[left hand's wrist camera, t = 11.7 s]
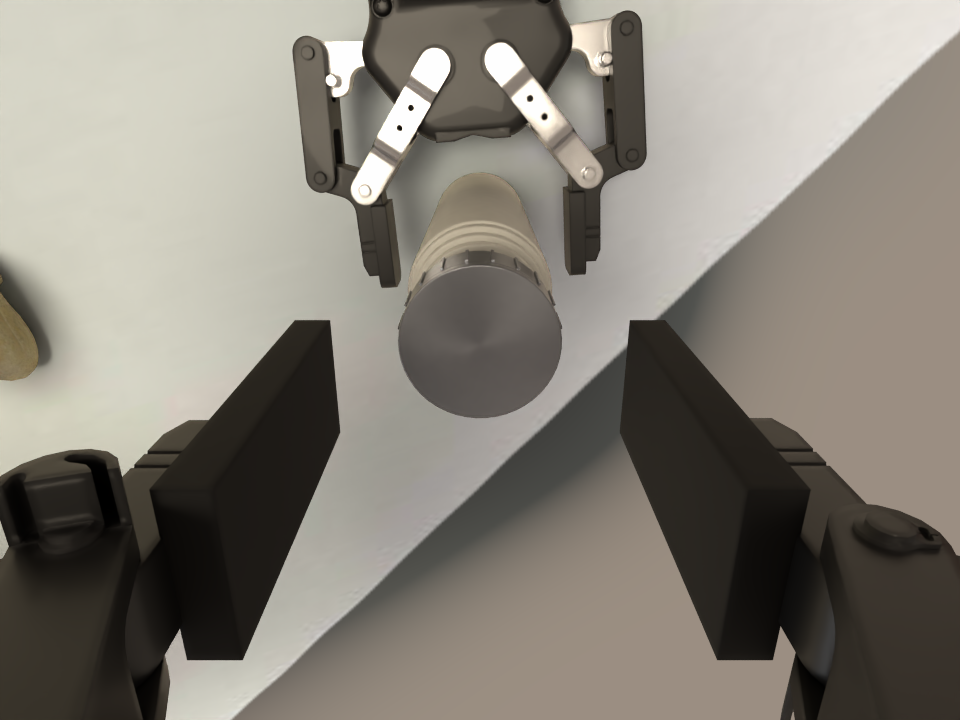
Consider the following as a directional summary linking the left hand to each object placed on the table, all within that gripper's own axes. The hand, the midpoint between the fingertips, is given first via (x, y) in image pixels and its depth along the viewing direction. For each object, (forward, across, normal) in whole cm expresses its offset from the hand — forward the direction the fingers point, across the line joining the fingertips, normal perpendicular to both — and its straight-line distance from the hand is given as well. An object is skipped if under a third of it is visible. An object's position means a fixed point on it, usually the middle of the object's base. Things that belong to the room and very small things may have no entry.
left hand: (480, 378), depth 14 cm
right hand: (+16, 0, -2) cm, 16 cm away
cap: (+2, 0, 0) cm, 2 cm away
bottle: (+22, 0, 0) cm, 22 cm away
